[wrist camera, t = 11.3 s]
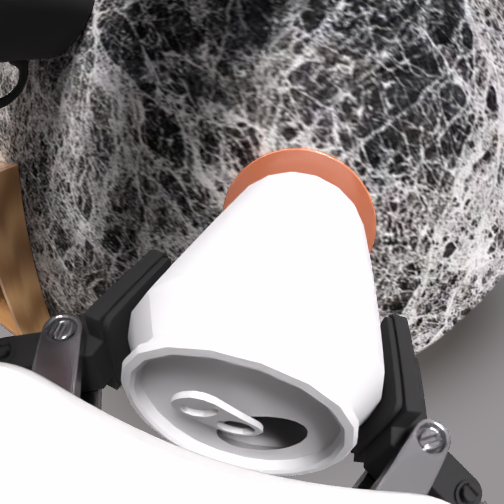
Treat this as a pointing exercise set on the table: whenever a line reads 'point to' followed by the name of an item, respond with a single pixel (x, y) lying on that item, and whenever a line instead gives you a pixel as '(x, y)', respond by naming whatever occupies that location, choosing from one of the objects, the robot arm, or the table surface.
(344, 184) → the coaster
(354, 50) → the table surface
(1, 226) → the holder
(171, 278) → the can
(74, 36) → the mug
